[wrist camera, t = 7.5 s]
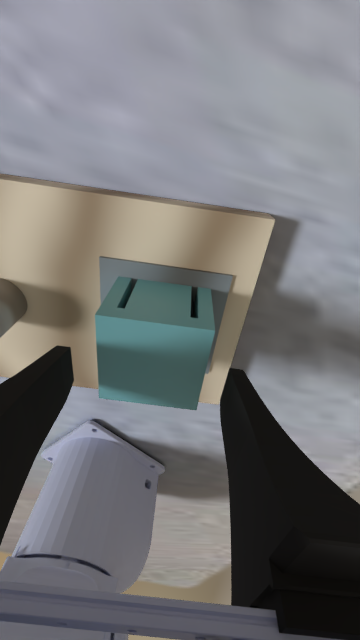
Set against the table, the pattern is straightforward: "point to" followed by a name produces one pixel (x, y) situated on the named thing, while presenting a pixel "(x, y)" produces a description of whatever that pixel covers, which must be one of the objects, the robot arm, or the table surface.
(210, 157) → the table surface
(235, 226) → the post board
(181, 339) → the teal slotted block
